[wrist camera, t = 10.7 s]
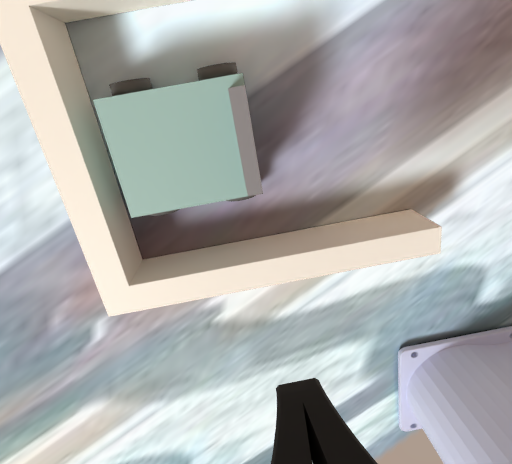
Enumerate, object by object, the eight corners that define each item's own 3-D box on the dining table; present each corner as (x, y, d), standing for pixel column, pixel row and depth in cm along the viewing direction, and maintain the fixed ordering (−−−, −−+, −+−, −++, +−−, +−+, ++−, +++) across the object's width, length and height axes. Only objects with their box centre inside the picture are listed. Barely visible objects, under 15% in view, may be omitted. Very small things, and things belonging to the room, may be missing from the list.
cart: (237, 64, 16) (242, 49, 11) (257, 187, 19) (269, 218, 14) (114, 86, 16) (67, 81, 11) (150, 207, 19) (124, 246, 14)
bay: (413, -80, 15) (456, -121, 12) (411, 232, 20) (440, 253, 18) (16, -12, 15) (-32, -38, 12) (124, 286, 20) (108, 316, 17)
